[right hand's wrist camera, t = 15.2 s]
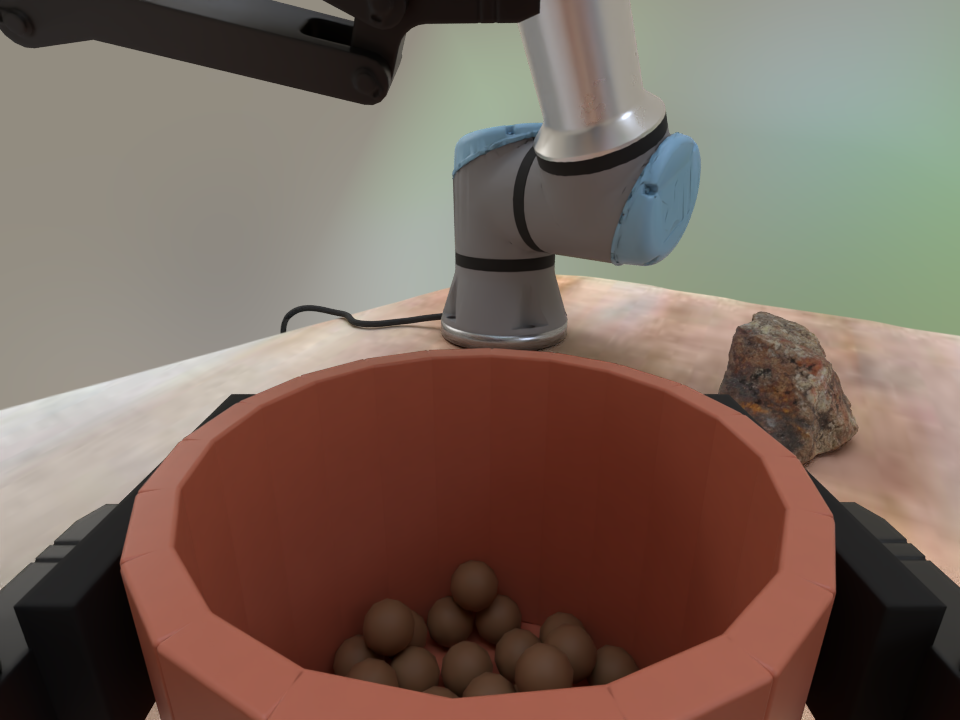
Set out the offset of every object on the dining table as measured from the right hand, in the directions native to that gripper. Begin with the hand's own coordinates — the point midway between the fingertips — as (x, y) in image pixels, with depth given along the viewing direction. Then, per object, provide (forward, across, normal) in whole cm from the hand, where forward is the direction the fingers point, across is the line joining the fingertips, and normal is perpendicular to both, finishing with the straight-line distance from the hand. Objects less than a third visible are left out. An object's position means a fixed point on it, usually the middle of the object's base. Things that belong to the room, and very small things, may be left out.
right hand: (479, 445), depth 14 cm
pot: (-4, 0, -6) cm, 8 cm away
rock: (+29, +24, -14) cm, 40 cm away
